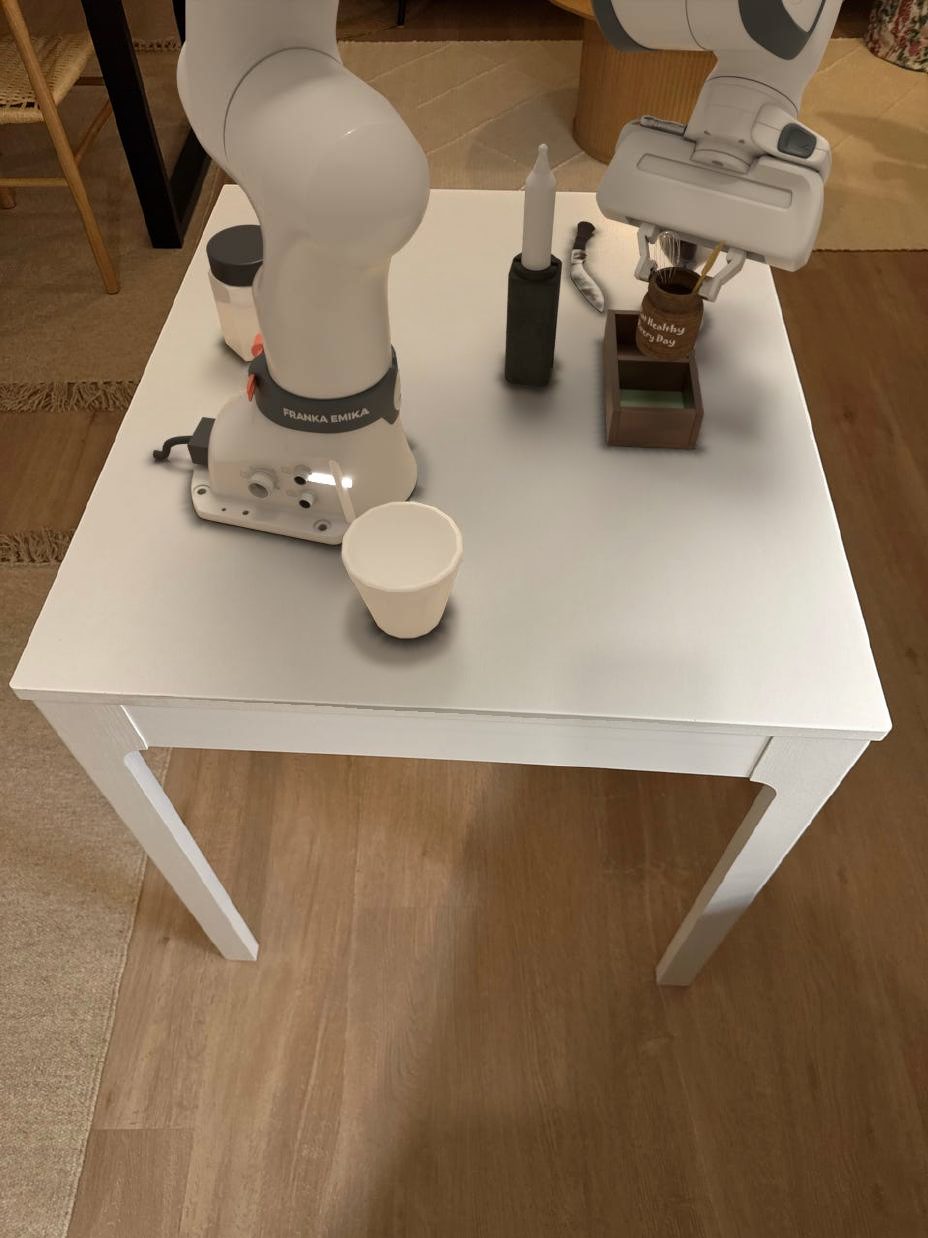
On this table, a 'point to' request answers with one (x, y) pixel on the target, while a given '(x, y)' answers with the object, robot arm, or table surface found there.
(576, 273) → the knife
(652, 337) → the utensil holder
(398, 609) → the cup
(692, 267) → the wine glass
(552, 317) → the candle
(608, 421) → the wooden divided box
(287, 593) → the table surface
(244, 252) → the jar
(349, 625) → the table surface
